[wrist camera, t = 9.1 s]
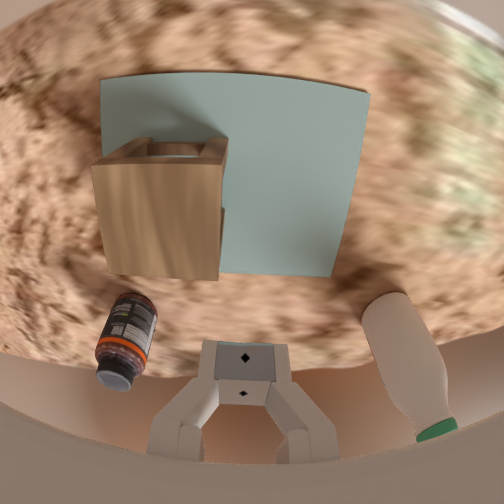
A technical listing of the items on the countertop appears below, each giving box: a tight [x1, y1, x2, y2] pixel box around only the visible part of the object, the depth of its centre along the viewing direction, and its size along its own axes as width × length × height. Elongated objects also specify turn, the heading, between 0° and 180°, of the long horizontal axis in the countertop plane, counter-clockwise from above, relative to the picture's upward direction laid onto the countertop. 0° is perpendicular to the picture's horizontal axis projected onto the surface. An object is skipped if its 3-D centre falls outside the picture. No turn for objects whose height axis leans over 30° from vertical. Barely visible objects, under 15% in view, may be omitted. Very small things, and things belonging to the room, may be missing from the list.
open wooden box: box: [91, 137, 229, 281], centre depth 22 cm, size 9×8×8 cm
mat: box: [100, 73, 370, 277], centre depth 26 cm, size 24×20×1 cm
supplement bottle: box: [95, 294, 157, 391], centre depth 30 cm, size 6×6×11 cm
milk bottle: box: [362, 292, 458, 443], centre depth 28 cm, size 8×8×20 cm
